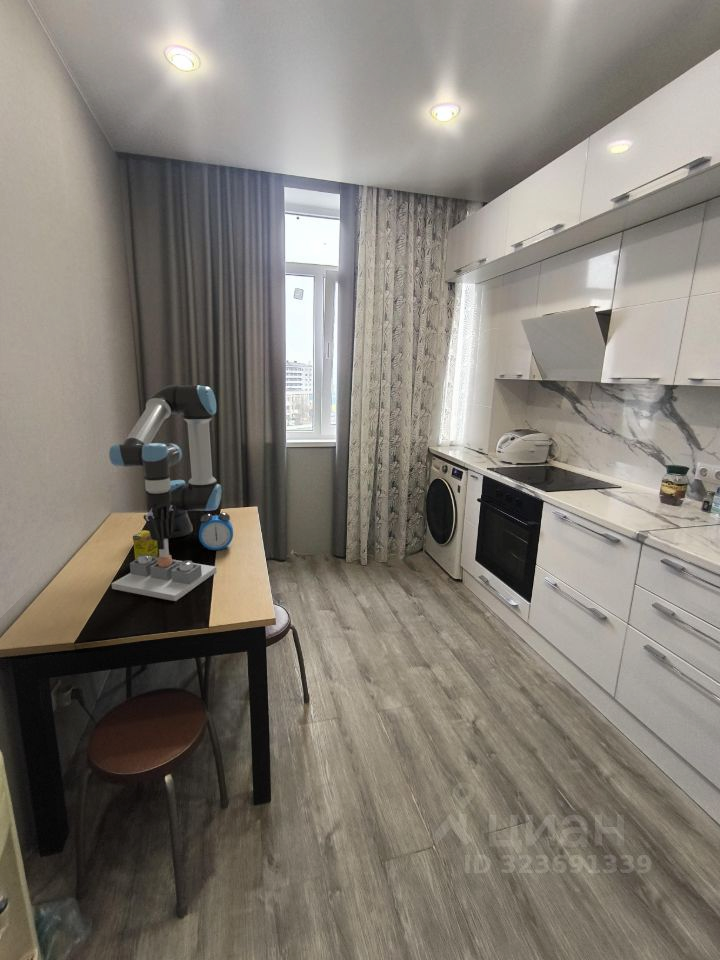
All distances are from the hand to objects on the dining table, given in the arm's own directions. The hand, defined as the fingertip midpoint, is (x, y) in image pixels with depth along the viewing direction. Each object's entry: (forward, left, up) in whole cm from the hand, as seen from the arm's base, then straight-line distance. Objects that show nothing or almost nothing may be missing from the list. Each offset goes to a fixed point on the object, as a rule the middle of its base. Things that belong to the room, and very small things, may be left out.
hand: (164, 556), depth 150 cm
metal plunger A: (0, -9, -6) cm, 11 cm away
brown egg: (0, 0, -5) cm, 5 cm away
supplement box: (-11, -18, -9) cm, 23 cm away
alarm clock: (-30, 0, -9) cm, 31 cm away
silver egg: (0, +8, -6) cm, 11 cm away
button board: (0, 0, -9) cm, 9 cm away
